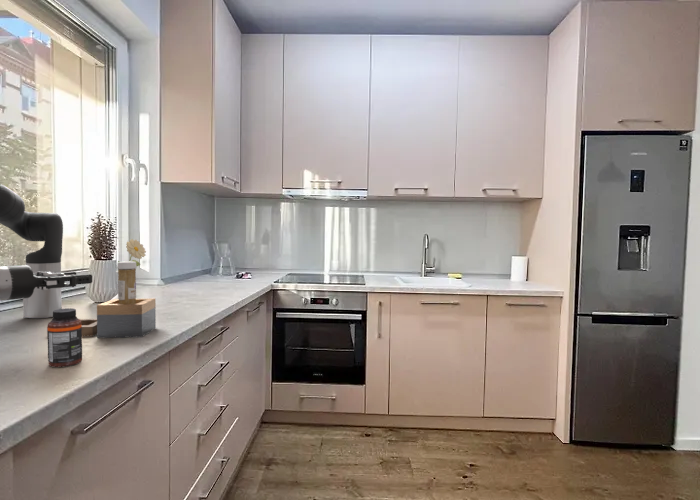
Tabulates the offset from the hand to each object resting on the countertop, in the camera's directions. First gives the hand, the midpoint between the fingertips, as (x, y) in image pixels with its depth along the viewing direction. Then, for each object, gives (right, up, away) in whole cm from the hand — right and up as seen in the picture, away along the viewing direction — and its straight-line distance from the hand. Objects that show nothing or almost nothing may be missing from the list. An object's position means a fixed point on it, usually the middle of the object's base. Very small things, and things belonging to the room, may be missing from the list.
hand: (83, 277), depth 107 cm
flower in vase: (-12, -14, +45) cm, 48 cm away
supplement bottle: (+8, -17, -18) cm, 26 cm away
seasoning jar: (+6, -10, +9) cm, 15 cm away
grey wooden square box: (+6, -16, +10) cm, 19 cm away
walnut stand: (-7, -16, +10) cm, 20 cm away
